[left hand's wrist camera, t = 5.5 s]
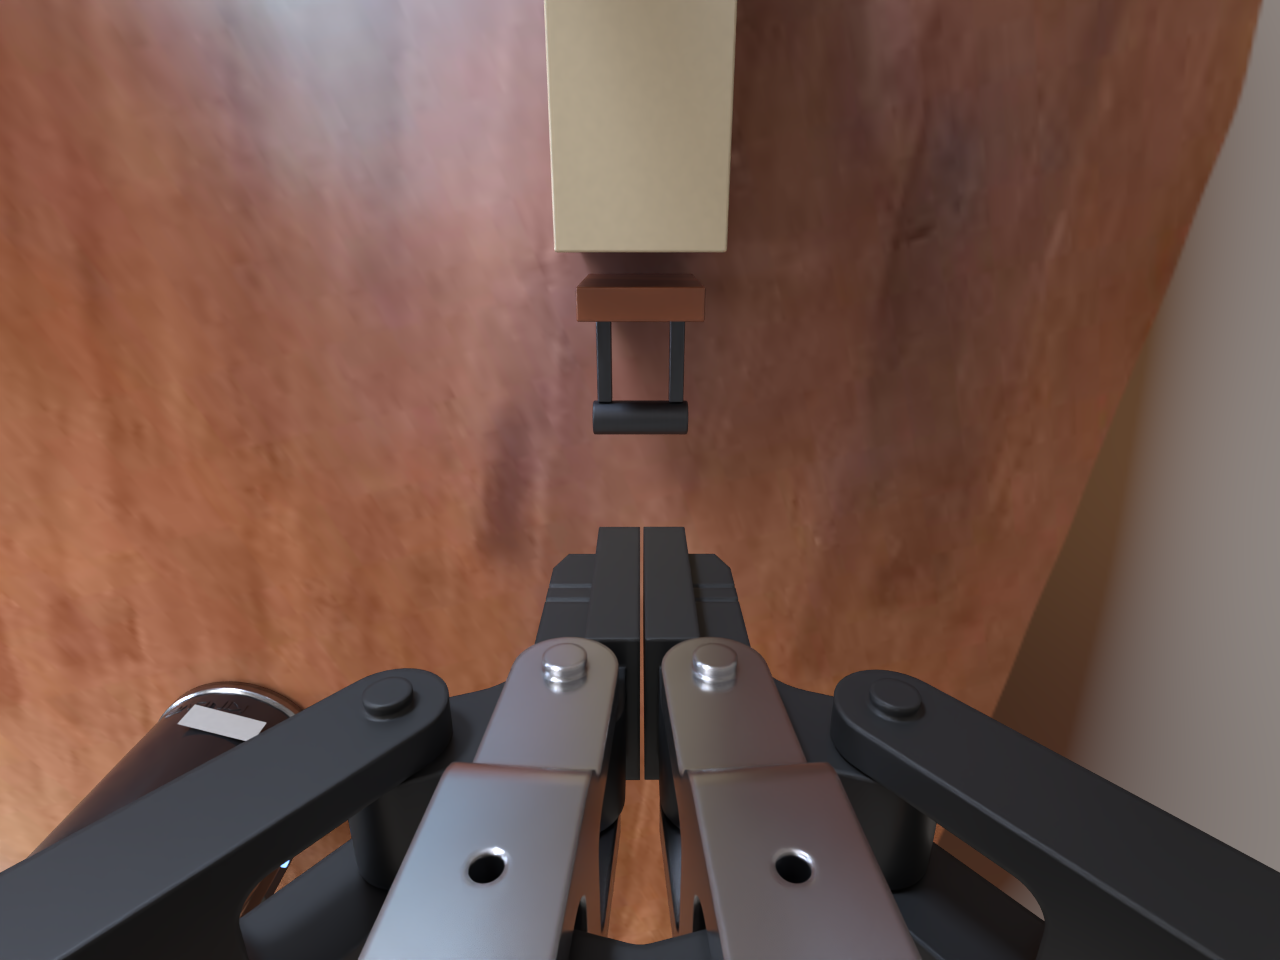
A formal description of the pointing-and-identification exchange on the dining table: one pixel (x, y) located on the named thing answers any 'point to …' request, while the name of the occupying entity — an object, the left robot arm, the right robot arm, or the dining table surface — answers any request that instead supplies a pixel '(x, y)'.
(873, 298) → the dining table surface
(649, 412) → the drawer
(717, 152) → the cabinet
